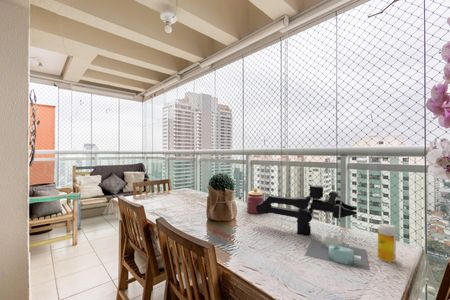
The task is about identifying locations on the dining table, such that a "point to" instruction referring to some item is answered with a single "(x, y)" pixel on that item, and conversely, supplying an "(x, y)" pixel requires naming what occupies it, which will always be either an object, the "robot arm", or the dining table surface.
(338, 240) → the white rounded piece
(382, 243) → the beer can
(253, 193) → the canister
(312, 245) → the rubber mat
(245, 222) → the dining table surface
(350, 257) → the teal connector
